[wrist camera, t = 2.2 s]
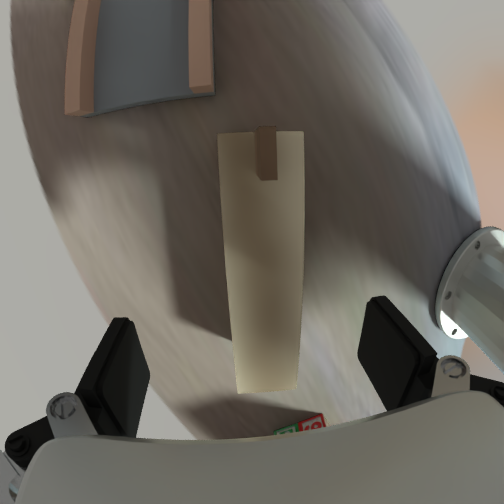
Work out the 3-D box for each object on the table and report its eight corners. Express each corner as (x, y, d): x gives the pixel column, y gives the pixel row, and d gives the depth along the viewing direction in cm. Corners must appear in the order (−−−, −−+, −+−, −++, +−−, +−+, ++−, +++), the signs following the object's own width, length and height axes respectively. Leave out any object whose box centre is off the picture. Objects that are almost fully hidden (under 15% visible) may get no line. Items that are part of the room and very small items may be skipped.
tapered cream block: (283, 136, 18) (321, 126, 10) (284, 338, 24) (304, 421, 15) (223, 138, 18) (211, 128, 9) (237, 341, 23) (238, 427, 15)
